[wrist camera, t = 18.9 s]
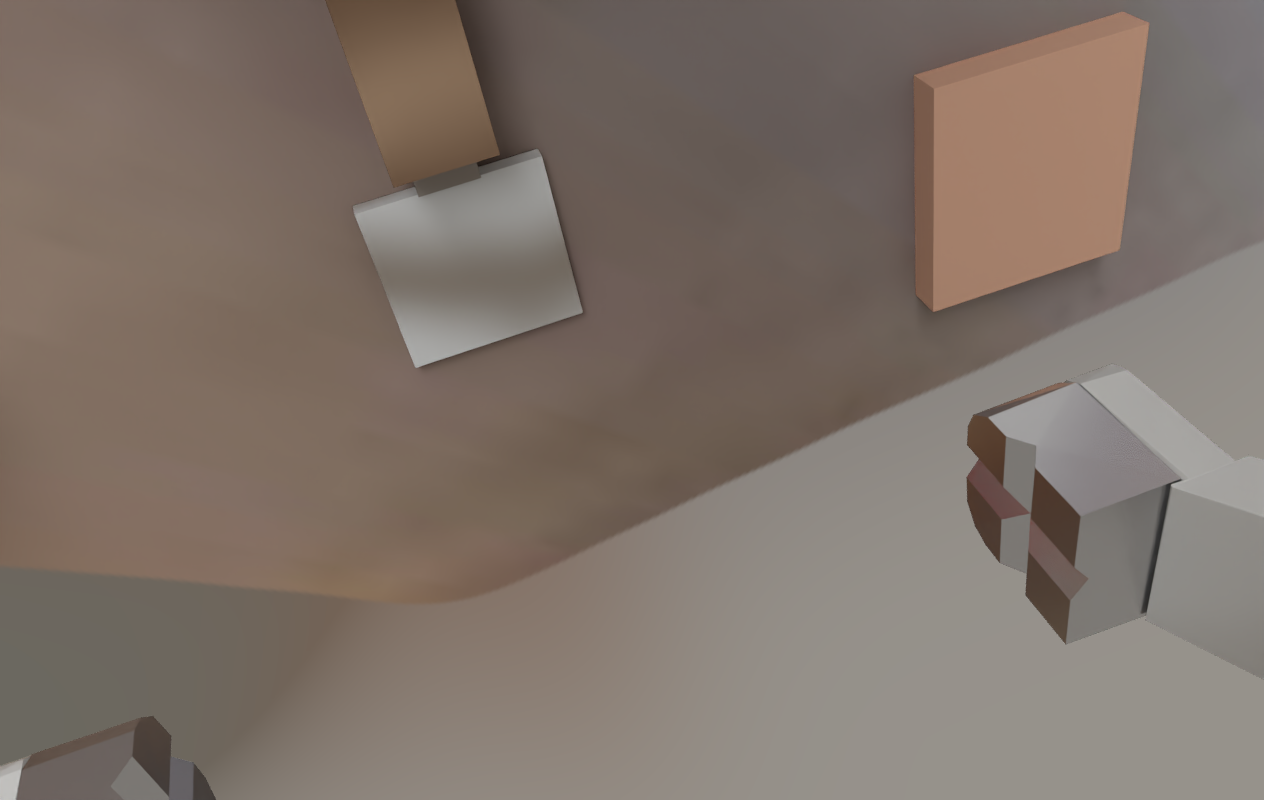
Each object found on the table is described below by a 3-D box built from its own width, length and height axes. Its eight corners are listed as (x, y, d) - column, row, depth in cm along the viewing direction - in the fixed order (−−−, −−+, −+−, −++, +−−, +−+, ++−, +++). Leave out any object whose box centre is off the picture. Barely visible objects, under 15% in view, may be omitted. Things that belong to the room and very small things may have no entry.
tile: (1149, 23, 36) (1119, 250, 42) (1115, 8, 37) (1091, 229, 43) (934, 88, 35) (933, 312, 41) (907, 70, 37) (910, 289, 42)
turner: (158, -282, 25) (148, -268, 22) (407, -345, 26) (431, -339, 22) (413, 358, 37) (429, 426, 34) (578, 304, 37) (609, 366, 34)
